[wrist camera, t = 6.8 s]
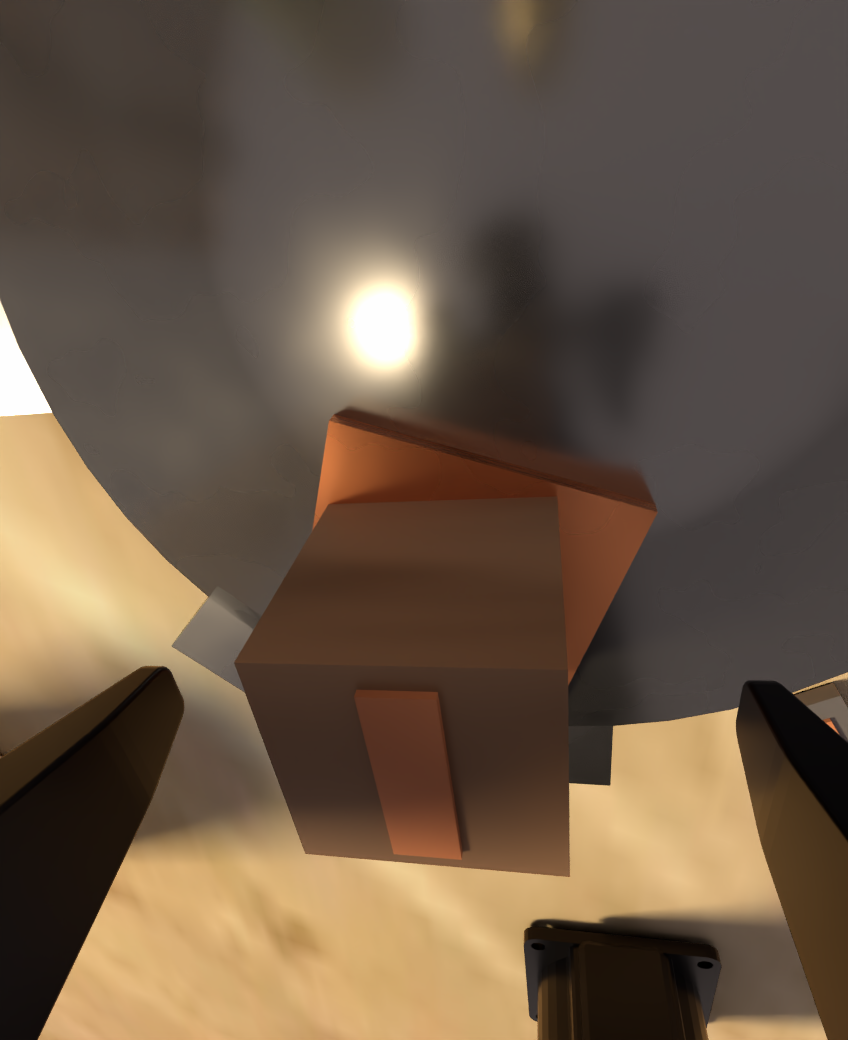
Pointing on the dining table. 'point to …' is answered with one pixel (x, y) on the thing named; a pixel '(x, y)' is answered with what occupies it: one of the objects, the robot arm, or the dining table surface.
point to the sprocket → (455, 303)
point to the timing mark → (828, 707)
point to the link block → (421, 685)
